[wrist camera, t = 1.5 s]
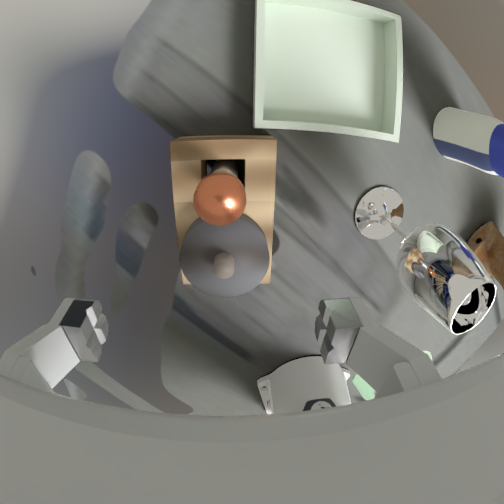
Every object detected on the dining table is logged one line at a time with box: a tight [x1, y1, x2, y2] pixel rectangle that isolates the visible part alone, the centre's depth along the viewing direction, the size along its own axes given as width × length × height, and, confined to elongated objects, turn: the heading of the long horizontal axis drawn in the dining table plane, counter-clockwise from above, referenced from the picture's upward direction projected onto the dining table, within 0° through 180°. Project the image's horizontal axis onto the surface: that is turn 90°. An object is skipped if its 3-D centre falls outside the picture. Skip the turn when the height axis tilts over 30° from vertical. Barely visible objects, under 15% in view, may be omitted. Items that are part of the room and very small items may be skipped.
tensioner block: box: [170, 135, 277, 297], centre depth 28 cm, size 16×10×9 cm, turn 179°
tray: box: [253, 0, 403, 143], centre depth 23 cm, size 16×16×4 cm
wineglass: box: [355, 187, 496, 335], centre depth 25 cm, size 8×8×20 cm
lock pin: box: [193, 159, 246, 226], centre depth 25 cm, size 4×4×11 cm
